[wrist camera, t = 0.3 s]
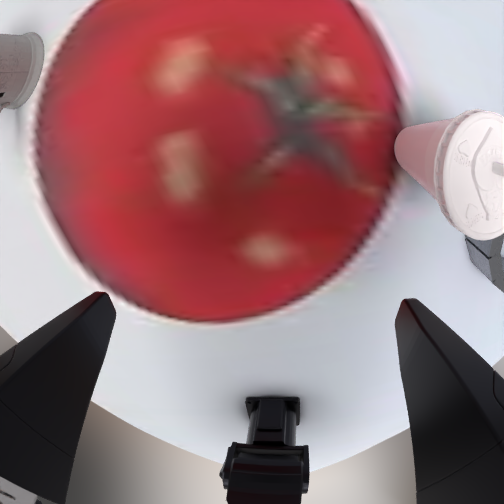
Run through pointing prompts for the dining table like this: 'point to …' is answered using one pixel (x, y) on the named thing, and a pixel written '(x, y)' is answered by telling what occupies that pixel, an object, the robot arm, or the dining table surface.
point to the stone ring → (488, 258)
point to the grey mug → (19, 68)
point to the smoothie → (460, 168)
